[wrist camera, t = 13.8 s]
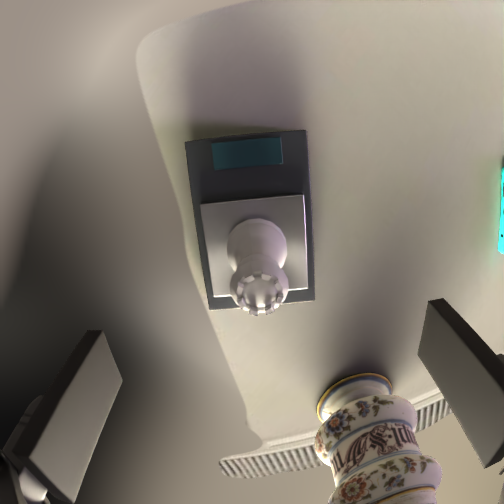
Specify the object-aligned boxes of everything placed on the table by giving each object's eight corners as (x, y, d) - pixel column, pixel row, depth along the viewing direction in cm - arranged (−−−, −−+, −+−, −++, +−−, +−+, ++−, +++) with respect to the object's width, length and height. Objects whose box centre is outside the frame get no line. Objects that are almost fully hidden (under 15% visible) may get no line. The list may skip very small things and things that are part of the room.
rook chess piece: (218, 226, 24) (204, 269, 16) (276, 209, 24) (290, 245, 16) (237, 279, 25) (232, 339, 18) (292, 263, 25) (310, 318, 18)
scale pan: (201, 202, 24) (199, 204, 23) (302, 192, 24) (304, 194, 23) (214, 293, 27) (213, 297, 26) (306, 284, 27) (308, 288, 26)
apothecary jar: (344, 440, 39) (371, 548, 22) (287, 408, 36) (303, 542, 19) (415, 391, 36) (468, 498, 19) (367, 348, 33) (429, 484, 16)
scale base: (191, 141, 25) (183, 141, 22) (300, 130, 25) (307, 129, 22) (212, 294, 30) (209, 313, 27) (309, 285, 30) (315, 303, 27)
